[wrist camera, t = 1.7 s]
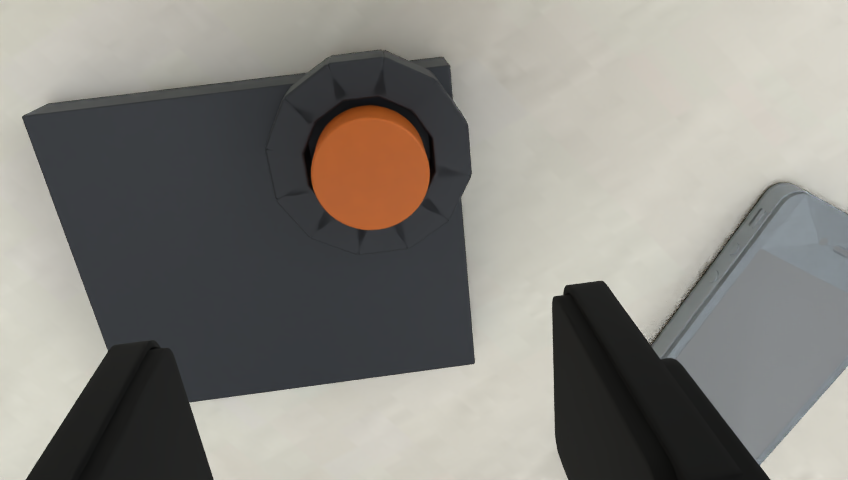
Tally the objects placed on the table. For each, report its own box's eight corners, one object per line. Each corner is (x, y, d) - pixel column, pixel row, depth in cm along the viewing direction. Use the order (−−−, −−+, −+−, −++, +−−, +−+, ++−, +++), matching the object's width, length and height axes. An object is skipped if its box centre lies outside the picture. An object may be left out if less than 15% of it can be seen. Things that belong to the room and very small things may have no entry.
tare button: (419, 98, 20) (423, 110, 19) (430, 203, 22) (435, 223, 20) (305, 111, 20) (300, 125, 19) (324, 216, 22) (321, 238, 20)
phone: (565, 456, 31) (573, 476, 30) (776, 172, 26) (795, 183, 25) (696, 504, 33) (708, 524, 32) (916, 250, 28) (939, 263, 27)
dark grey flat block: (448, 33, 23) (462, 47, 19) (473, 338, 28) (488, 387, 25) (39, 81, 22) (-15, 103, 19) (144, 382, 27) (115, 438, 24)
